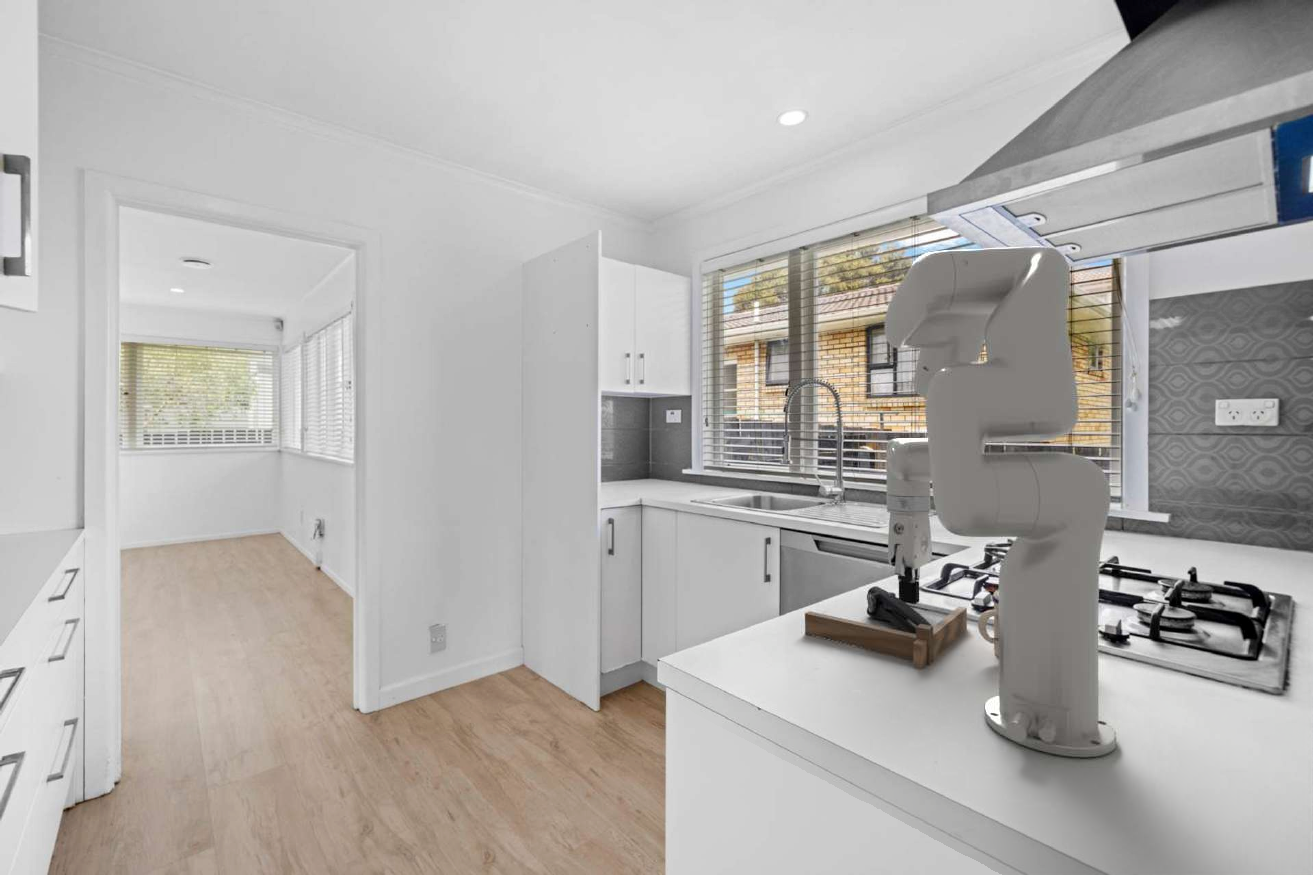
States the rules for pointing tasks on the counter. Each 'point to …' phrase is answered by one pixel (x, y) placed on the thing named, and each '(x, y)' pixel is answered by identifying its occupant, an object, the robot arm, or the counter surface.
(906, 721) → the counter surface
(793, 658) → the counter surface
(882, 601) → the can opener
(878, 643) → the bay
